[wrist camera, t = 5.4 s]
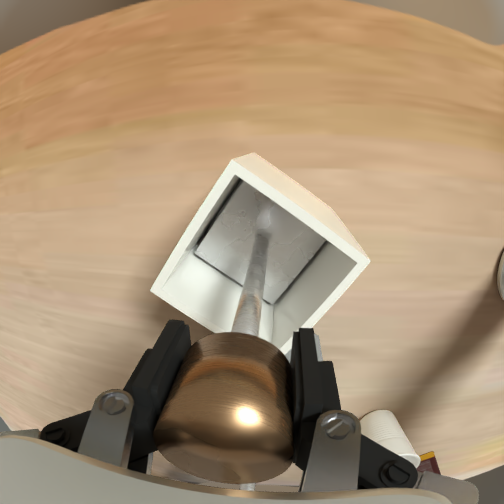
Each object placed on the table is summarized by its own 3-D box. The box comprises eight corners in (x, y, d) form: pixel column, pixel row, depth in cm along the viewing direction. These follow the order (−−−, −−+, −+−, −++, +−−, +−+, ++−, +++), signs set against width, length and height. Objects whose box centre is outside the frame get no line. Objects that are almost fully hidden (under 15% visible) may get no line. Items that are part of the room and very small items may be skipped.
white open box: (253, 152, 30) (232, 159, 16) (332, 208, 32) (370, 261, 18) (201, 228, 34) (149, 290, 20) (276, 279, 35) (272, 366, 21)
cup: (337, 435, 44) (344, 488, 34) (361, 398, 41) (374, 455, 30) (387, 437, 44) (399, 485, 34) (414, 401, 40) (433, 451, 30)
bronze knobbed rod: (249, 172, 24) (149, 273, 5) (330, 230, 25) (422, 428, 6) (196, 250, 26) (71, 434, 8) (272, 301, 27) (256, 517, 9)
